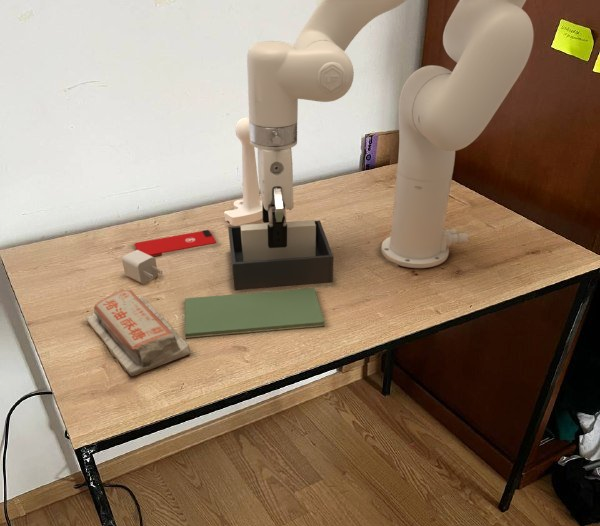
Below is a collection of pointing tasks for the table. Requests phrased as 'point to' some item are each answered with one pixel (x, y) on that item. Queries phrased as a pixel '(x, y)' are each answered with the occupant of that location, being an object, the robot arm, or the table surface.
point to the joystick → (246, 182)
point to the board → (298, 245)
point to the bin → (281, 265)
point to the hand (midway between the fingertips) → (274, 234)
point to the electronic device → (175, 243)
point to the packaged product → (136, 332)
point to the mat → (252, 312)
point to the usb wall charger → (140, 266)
